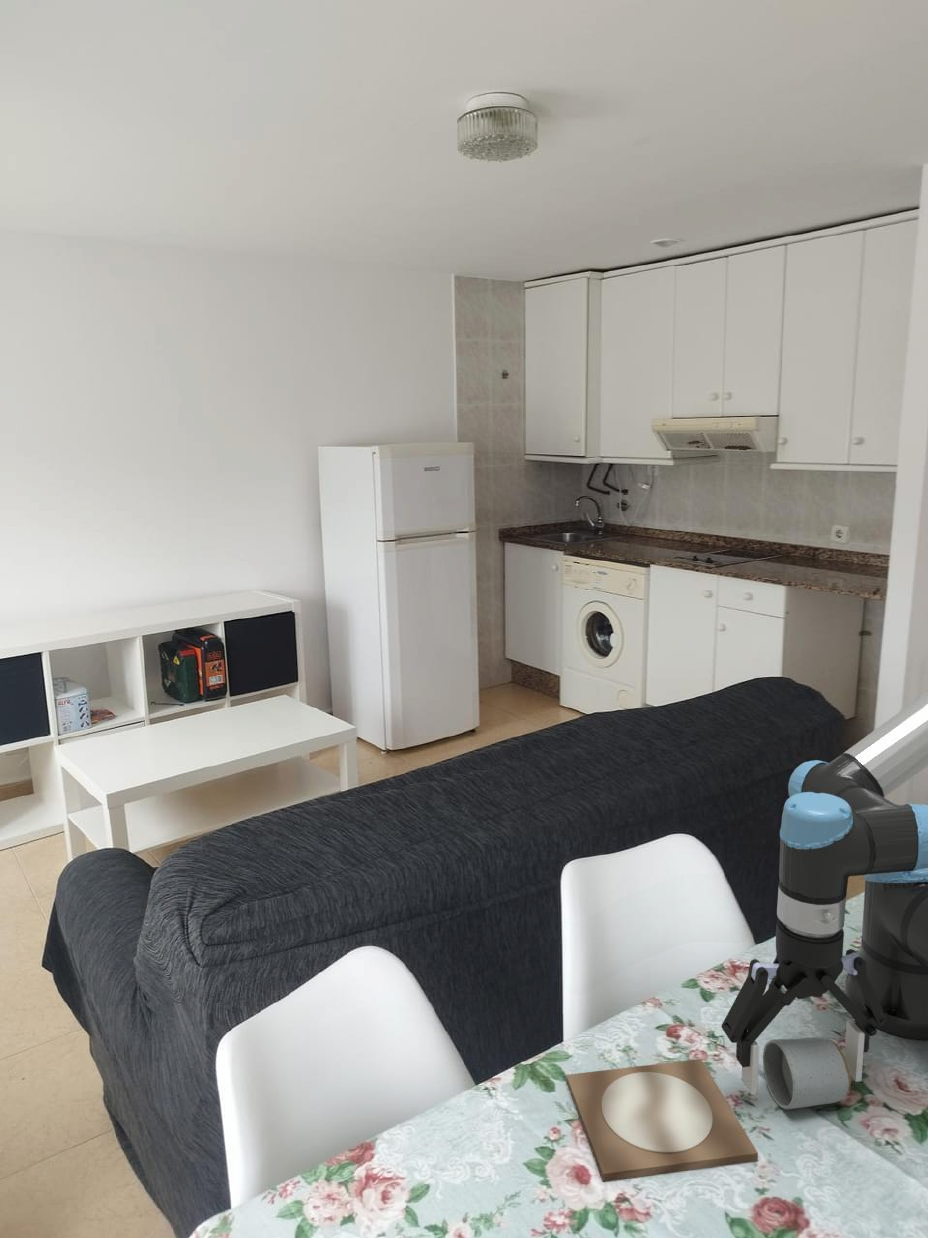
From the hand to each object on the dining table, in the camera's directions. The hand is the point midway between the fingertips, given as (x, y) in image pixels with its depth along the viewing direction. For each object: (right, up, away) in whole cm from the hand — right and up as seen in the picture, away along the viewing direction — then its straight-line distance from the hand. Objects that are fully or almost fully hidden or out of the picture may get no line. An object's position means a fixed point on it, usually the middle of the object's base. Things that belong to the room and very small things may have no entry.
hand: (801, 1080), depth 110 cm
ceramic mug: (0, -2, +1) cm, 2 cm away
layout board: (-19, -3, -3) cm, 19 cm away
